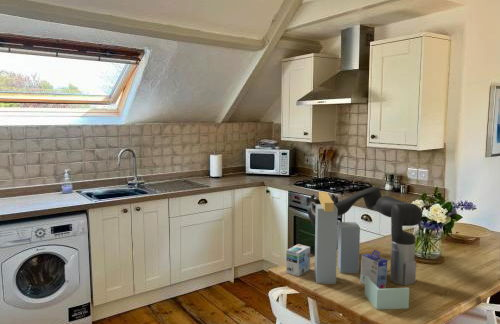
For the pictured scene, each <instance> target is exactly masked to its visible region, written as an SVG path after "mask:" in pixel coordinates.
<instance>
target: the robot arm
mask: <svg viewBox="0 0 500 324" xmlns="http://www.w3.org/2000/svg"><path fill="white" fill-rule="evenodd" d="M305 198H306V200H305V203H306V204H305V205H306V207H308V209H307V215H308V218H309V220H310V221H309V222H310V223H311V225H312V227H315V217H316V204H321V203H320V201H319V196H318V197H316V196H315V194H312V195H310V197H309V196H307V197H305ZM330 198H331V199H332V201H333V203H334V204H335V206H336V207H337V209H338V212H337V217H339V216H343V215H345V214H346V213H348V211H350V209H352V207H353V206H354V205H355V204H356V203H357V201H360V199H363V202H364V204H365V207H366V208H367V209H368V210H370V211H374V212H377V213H379V214H381V215H383V216H385V217H387V218H390V231H391V242H390V243H391V245H390V246H391V247H390V272H389V275H390V277H389V280H390V281H391V282H393V283H394V284H398V285H401V286H404V287H405V286H409V285H412V284H416V275H417V274H416V273H417V261H416V260H415V252H416V251H415V250H416V237H415V235H414V234H413V233H410V232H407V231H406V230H404V229H403V227H413V226H417V225H419V223H420V222H421V221H422V219H423V218H422V211H421V209H420V207H419V206H418V205H417V204H415V203H408V202H405V201H402V200H399V199H397V198H395V197H393V196H390V195H382V192H381V189H380V188H379V187H378V186H372V187H368V188H365V189H362V190H360V191H358V192H356V193H354V194H352V195H350V196H348V197H346V198H345V199H341V200H339V197H337V196H336V195H335V194H331V196H330ZM310 205H311V206H310Z"/></svg>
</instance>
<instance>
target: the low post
mask: <svg viewBox="0 0 500 324" xmlns="http://www.w3.org/2000/svg"><path fill="white" fill-rule="evenodd" d="M360 235H361V227H360V225H359V224H358V223H357V222H356V221H355V222H354V221H353V222H352V221H339V222H338V224H337V268H338V270H339V273H341V274H359V272H360V246H361V245H360V244H361V243H360V242H361V240H360V239H361V236H360Z"/></svg>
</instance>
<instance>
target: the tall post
mask: <svg viewBox="0 0 500 324" xmlns="http://www.w3.org/2000/svg"><path fill="white" fill-rule="evenodd" d="M337 212H338V209H337V207H336V206H335V204H334V212H330V211H324V209H323V207H322V205H321V204H316V217H315V226H314V227H315V228H314V229H315V230H314V231H315V232H314V278H315V282H316V284H328V285H329V284H331V285H332V284H335V285H336V284H337V258H338V216H337Z"/></svg>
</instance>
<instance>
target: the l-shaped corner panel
mask: <svg viewBox="0 0 500 324" xmlns="http://www.w3.org/2000/svg"><path fill="white" fill-rule="evenodd" d="M364 296H365V297H366V299H367V300H368V301H369V302H370V303H371V304H372V305H373V307H374V308H375V309H376V310H395V309H396V310H398V309H401V310H402V309H409V307H410V304H409V303H410V288H409V287H393V288H392V287H391V288H387V287H386V288H385V289H379V288H378V287H377V286H376V285H375V284H374V282H373V281H372V280H371V279H370V278H369V277H368V276H365V284H364Z"/></svg>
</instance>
